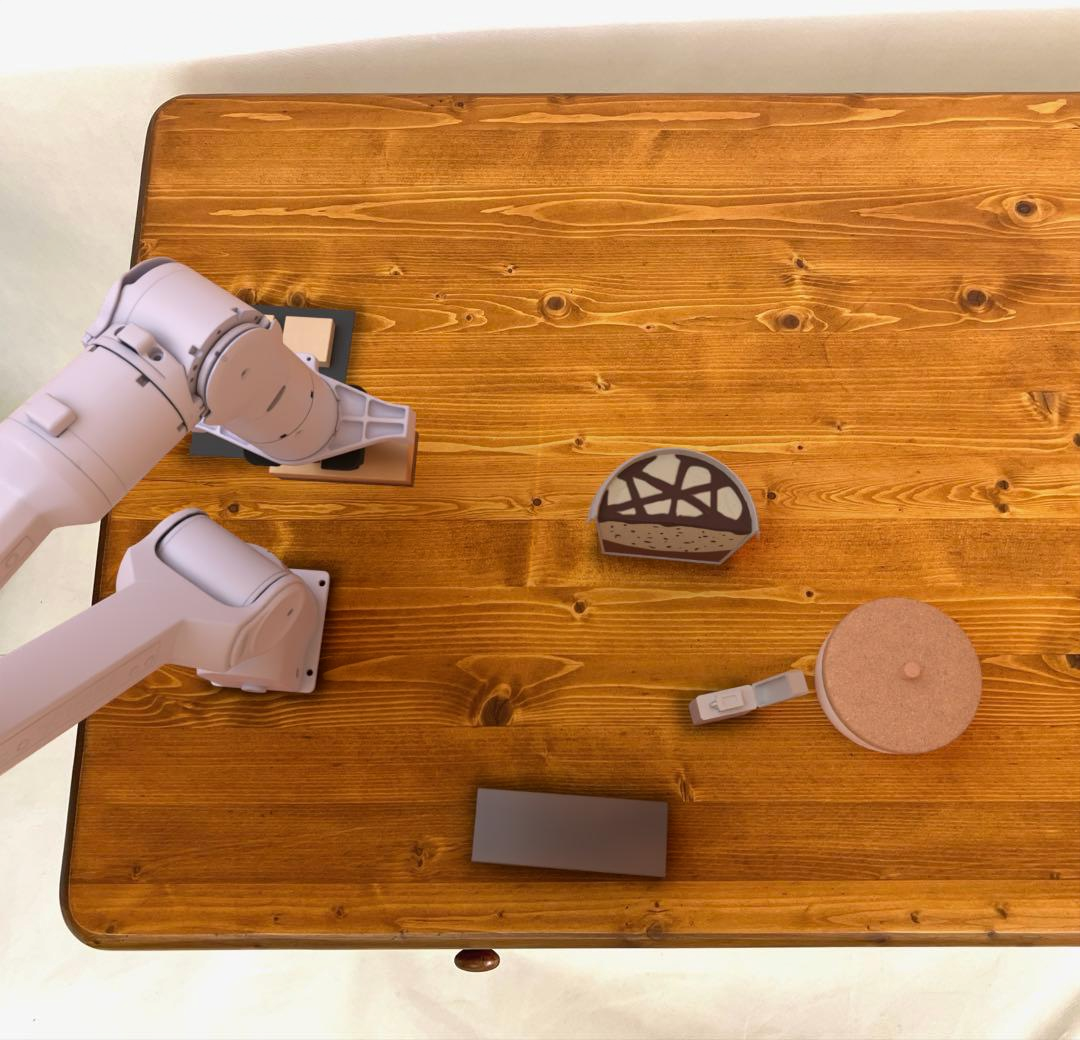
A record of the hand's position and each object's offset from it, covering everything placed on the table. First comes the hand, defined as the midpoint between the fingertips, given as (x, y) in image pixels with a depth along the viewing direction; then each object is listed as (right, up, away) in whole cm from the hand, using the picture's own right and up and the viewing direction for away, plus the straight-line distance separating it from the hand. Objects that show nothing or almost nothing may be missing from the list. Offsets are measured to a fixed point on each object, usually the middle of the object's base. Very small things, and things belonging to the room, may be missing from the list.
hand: (338, 449), depth 69 cm
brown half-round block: (+24, -5, +9) cm, 26 cm away
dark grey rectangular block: (+16, -28, +3) cm, 32 cm away
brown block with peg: (0, 0, +3) cm, 3 cm away
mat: (-8, +7, +13) cm, 17 cm away
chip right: (-5, +10, +14) cm, 18 cm away
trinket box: (+39, -18, +5) cm, 43 cm away
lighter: (+29, -19, +5) cm, 35 cm away
